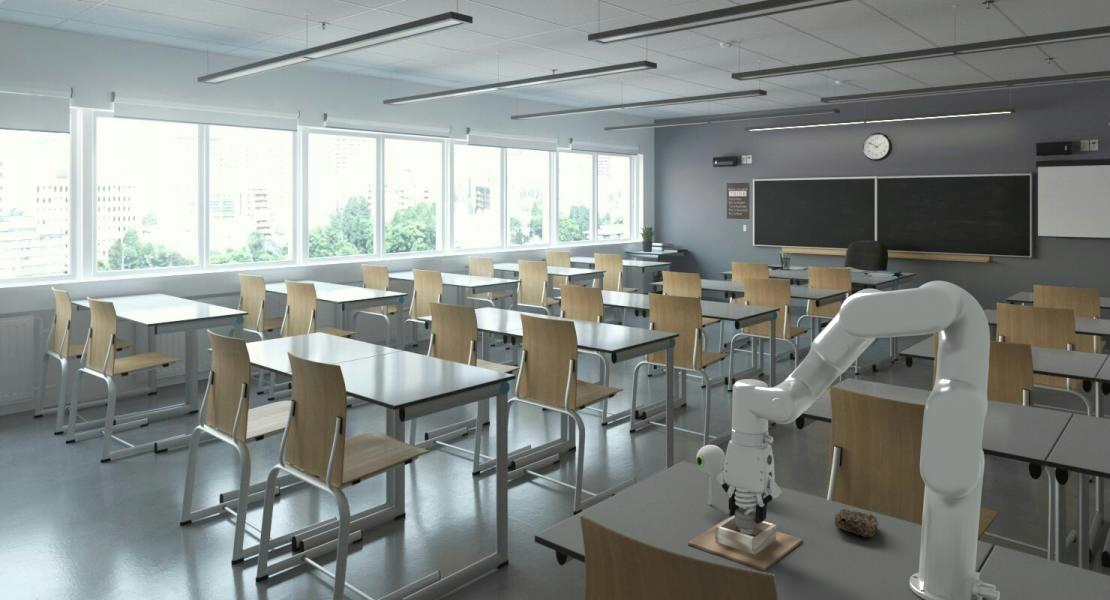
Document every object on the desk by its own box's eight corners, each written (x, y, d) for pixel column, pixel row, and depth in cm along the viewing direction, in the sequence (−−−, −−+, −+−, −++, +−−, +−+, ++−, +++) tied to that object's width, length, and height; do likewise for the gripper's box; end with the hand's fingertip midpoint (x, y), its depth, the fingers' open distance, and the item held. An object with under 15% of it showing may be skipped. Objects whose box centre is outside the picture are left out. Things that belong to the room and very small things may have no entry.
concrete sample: (871, 546, 171) (872, 524, 170) (825, 533, 177) (826, 512, 176) (886, 528, 180) (887, 507, 179) (841, 517, 186) (842, 496, 185)
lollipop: (689, 501, 195) (690, 443, 193) (713, 496, 198) (714, 439, 196) (706, 511, 188) (708, 451, 186) (730, 506, 191) (732, 447, 189)
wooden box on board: (802, 541, 172) (802, 524, 172) (764, 570, 159) (765, 552, 158) (728, 519, 184) (729, 502, 184) (687, 544, 171) (688, 527, 170)
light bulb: (760, 541, 168) (762, 488, 166) (733, 539, 169) (735, 486, 167) (759, 530, 173) (761, 478, 172) (733, 528, 175) (734, 476, 173)
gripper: (794, 441, 165) (791, 523, 168) (722, 426, 177) (720, 502, 179) (779, 450, 160) (776, 534, 162) (705, 433, 171) (703, 512, 174)
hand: (747, 517), depth 171 cm, fingers closed on light bulb, 5 cm apart
